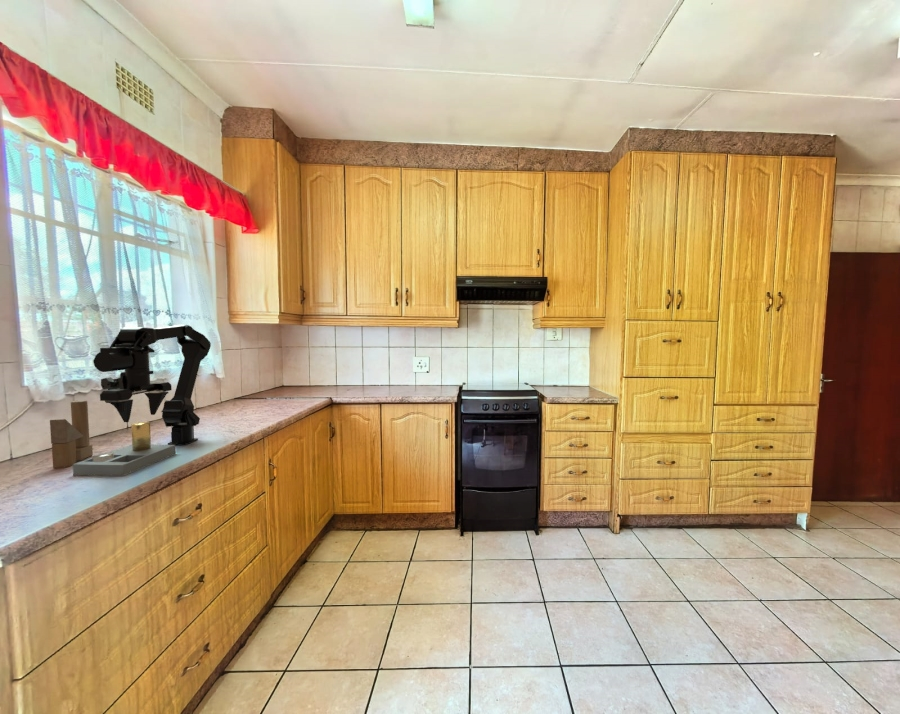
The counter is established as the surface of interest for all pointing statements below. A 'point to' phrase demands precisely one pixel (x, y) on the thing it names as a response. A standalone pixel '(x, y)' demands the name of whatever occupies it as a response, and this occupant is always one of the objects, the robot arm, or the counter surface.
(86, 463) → the jig
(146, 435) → the brass cylinder
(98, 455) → the chrome sphere
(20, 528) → the counter surface
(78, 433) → the wooden block
